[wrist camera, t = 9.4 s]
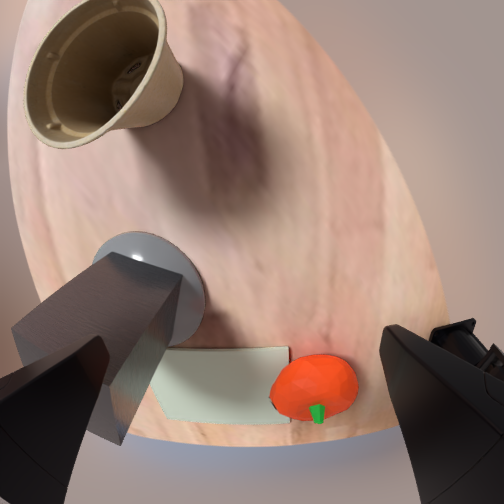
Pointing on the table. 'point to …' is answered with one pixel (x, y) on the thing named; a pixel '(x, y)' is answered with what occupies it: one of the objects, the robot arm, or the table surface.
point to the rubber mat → (220, 384)
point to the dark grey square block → (109, 331)
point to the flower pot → (101, 73)
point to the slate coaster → (171, 259)
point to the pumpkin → (314, 388)
